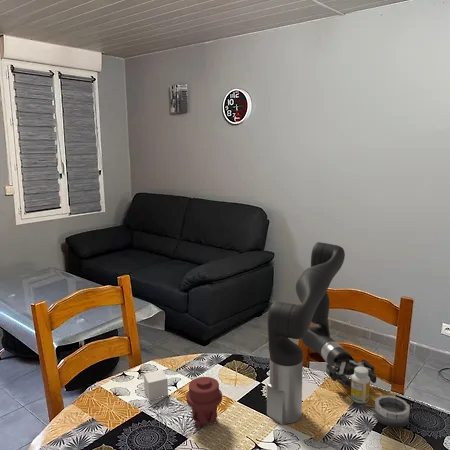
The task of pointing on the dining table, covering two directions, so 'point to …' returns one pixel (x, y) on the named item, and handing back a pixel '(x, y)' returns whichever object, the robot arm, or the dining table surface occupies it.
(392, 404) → the collar
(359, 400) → the supplement bottle
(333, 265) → the robot arm
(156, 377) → the grey cube
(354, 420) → the dining table surface
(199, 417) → the mechanical component
